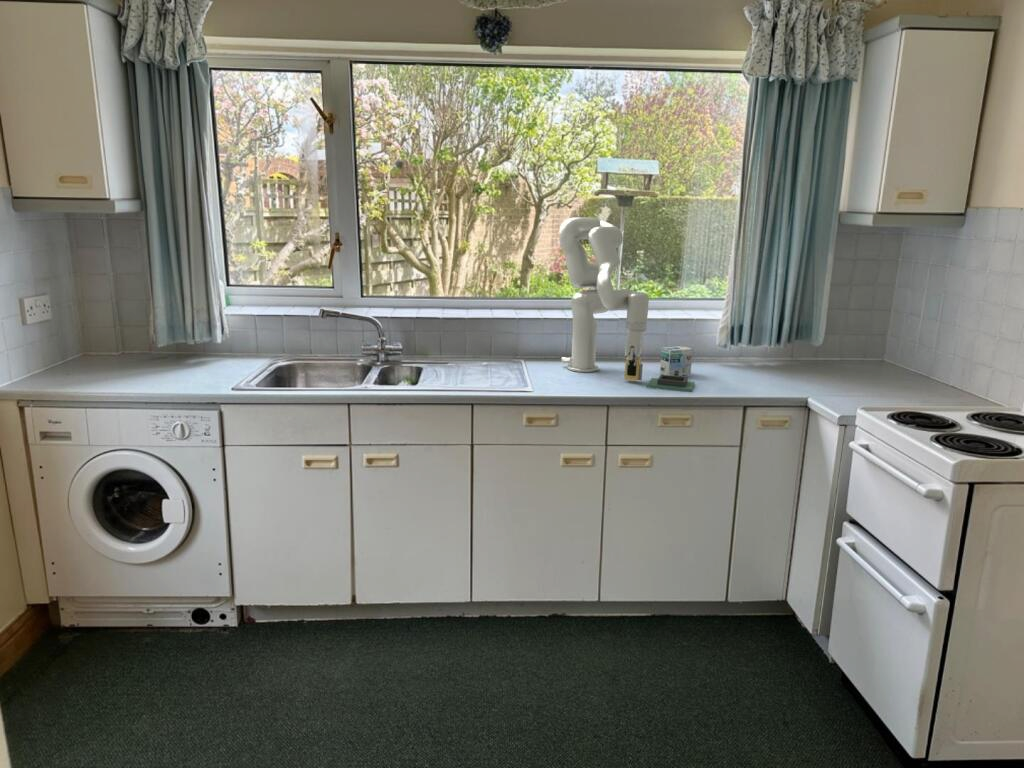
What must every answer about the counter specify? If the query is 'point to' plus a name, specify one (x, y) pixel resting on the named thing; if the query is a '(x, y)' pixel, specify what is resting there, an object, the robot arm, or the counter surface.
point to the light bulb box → (676, 361)
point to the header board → (671, 383)
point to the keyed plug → (638, 370)
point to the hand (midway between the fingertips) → (632, 373)
